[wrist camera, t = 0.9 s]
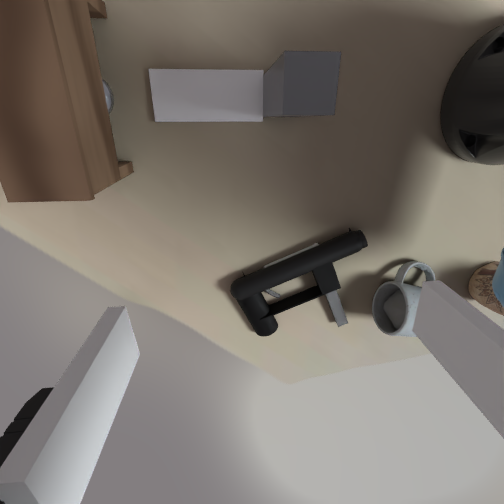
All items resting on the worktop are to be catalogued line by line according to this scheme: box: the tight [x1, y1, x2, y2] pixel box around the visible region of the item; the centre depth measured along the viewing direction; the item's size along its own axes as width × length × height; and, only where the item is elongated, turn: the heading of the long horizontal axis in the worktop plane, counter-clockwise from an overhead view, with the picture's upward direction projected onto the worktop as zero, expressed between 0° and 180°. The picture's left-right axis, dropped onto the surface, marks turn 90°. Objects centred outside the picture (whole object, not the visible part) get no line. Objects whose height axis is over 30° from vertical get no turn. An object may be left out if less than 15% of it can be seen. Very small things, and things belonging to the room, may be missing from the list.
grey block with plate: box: [148, 51, 341, 122], centre depth 26 cm, size 16×5×13 cm, turn 90°
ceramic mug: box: [372, 261, 435, 337], centre depth 42 cm, size 11×8×8 cm
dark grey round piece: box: [102, 79, 114, 113], centre depth 31 cm, size 4×4×1 cm
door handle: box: [231, 228, 368, 336], centre depth 43 cm, size 3×20×16 cm
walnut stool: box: [0, 0, 134, 202], centre depth 25 cm, size 6×16×13 cm, turn 0°
